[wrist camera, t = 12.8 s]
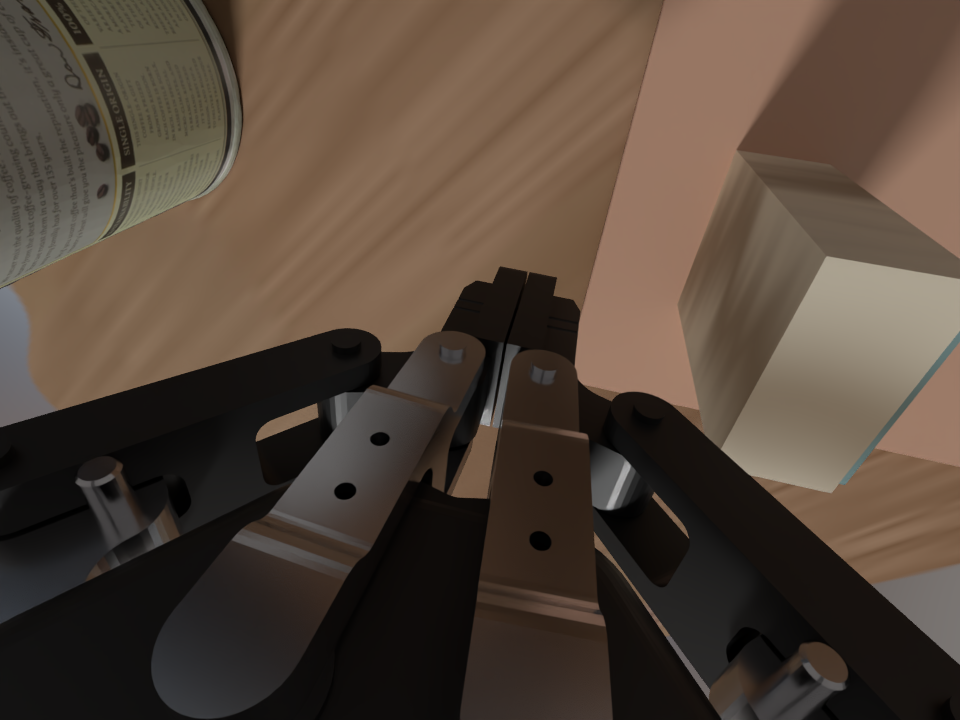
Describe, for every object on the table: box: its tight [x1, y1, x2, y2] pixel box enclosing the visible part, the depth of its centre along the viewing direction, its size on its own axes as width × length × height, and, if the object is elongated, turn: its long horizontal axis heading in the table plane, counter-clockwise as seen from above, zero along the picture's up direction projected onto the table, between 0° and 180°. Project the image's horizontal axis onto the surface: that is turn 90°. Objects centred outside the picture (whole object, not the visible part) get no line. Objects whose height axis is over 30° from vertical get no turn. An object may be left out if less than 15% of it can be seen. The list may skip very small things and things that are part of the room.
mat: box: [575, 0, 960, 467], centre depth 18 cm, size 16×20×1 cm
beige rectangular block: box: [677, 150, 960, 493], centre depth 15 cm, size 6×3×9 cm, turn 174°
